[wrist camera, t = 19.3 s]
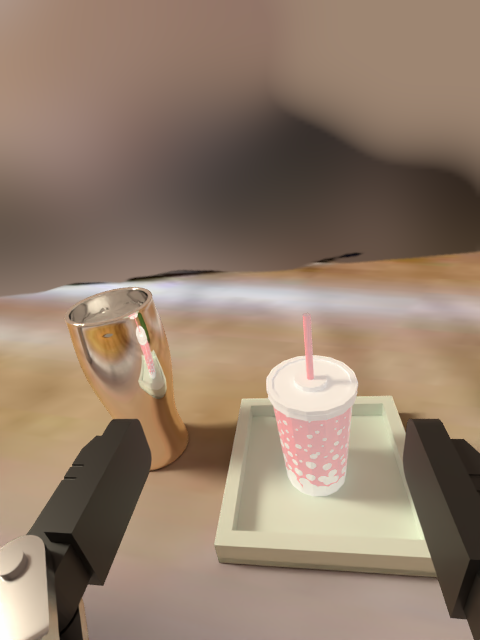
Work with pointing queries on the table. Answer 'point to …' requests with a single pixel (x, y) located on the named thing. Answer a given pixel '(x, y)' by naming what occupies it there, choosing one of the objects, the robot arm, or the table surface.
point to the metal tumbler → (130, 365)
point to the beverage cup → (313, 417)
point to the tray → (322, 500)
